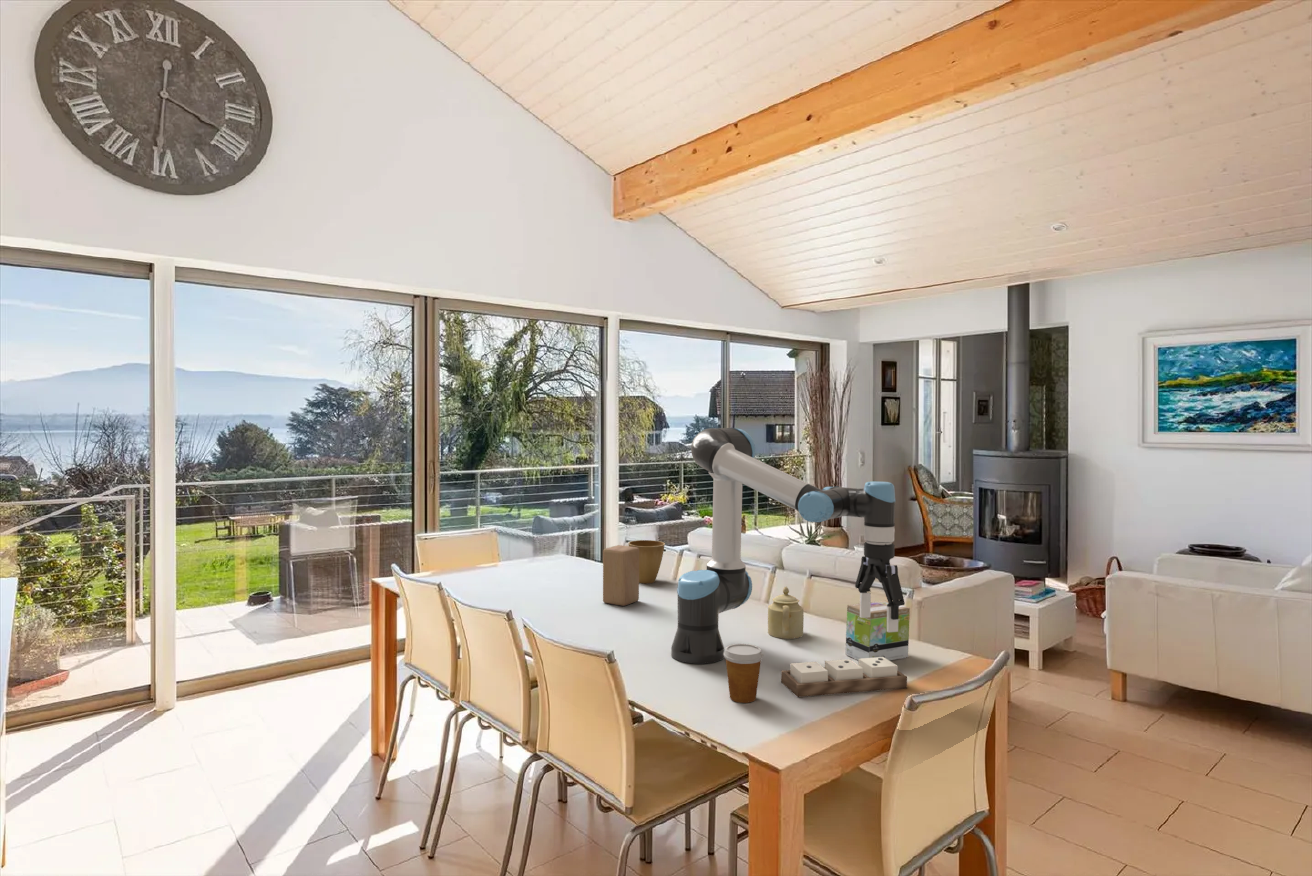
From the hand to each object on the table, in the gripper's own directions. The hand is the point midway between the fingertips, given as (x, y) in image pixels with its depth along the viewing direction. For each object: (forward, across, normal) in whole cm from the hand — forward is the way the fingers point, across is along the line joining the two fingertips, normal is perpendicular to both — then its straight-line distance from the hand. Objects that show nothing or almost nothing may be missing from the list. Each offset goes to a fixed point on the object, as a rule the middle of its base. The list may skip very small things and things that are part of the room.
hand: (878, 624), depth 192 cm
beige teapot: (+15, +43, +6) cm, 46 cm away
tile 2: (+13, 0, +10) cm, 16 cm away
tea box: (+15, +18, -10) cm, 26 cm away
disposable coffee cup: (+15, -3, +38) cm, 41 cm away
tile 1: (+13, 0, +19) cm, 23 cm away
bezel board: (+15, 0, +10) cm, 18 cm away
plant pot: (+15, +125, +34) cm, 130 cm away
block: (+15, +94, +50) cm, 107 cm away
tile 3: (+13, 0, 0) cm, 13 cm away
